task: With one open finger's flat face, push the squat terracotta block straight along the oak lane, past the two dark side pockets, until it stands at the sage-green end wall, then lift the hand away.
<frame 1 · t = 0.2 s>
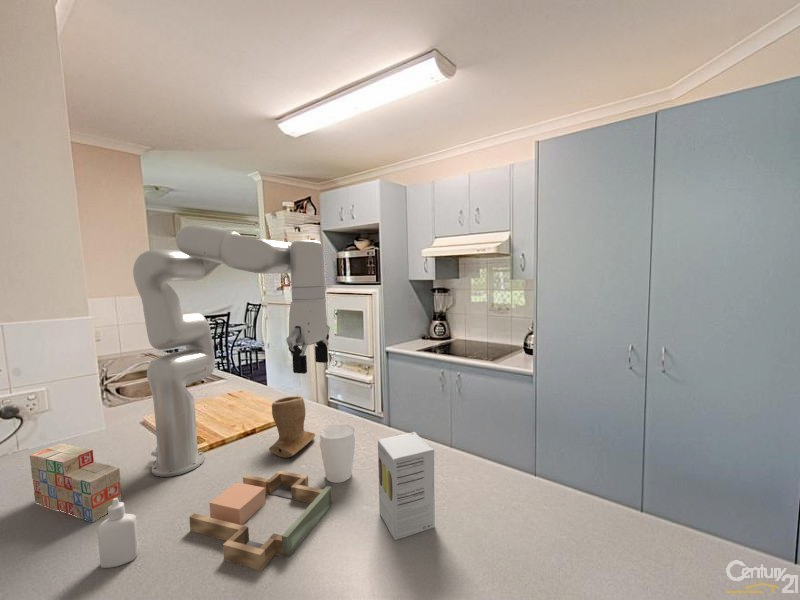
hand: (311, 367, 85), 31 cm above the countertop, tool pointing down, fingers open, 9 cm apart
block: (238, 511, 81), on the countertop
stone cup: (290, 447, 111), on the countertop
eye dropper bottle: (120, 561, 68), on the countertop
supplement box: (406, 520, 77), on the countertop
cup: (338, 476, 94), on the countertop
stack of blocks: (78, 506, 85), on the countertop
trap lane: (264, 516, 79), on the countertop
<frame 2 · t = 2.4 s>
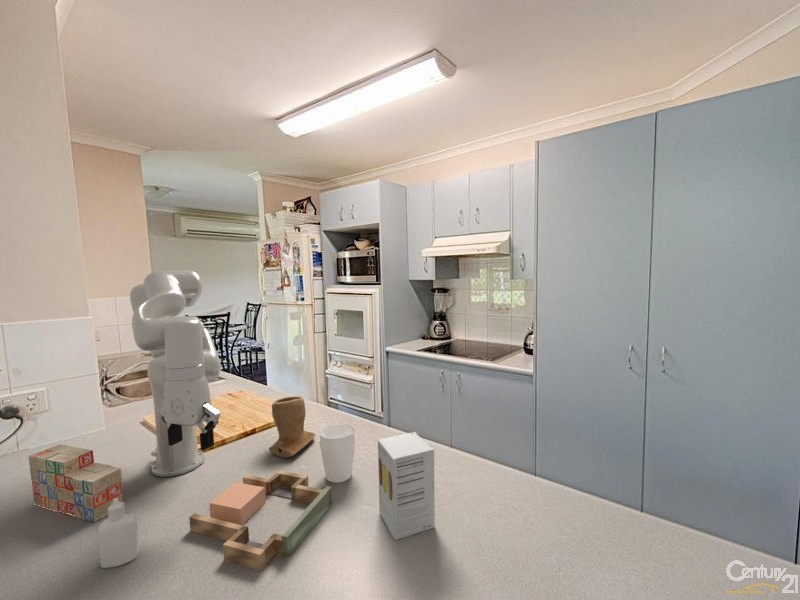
hand: (191, 445, 84), 14 cm above the countertop, tool pointing down, fingers open, 9 cm apart
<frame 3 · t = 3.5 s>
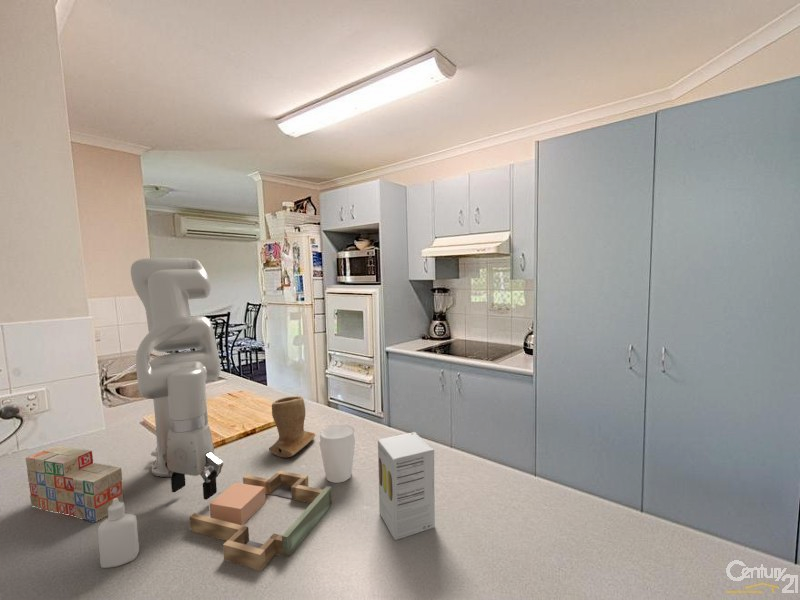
hand: (194, 492, 85), 2 cm above the countertop, tool pointing down, fingers open, 9 cm apart
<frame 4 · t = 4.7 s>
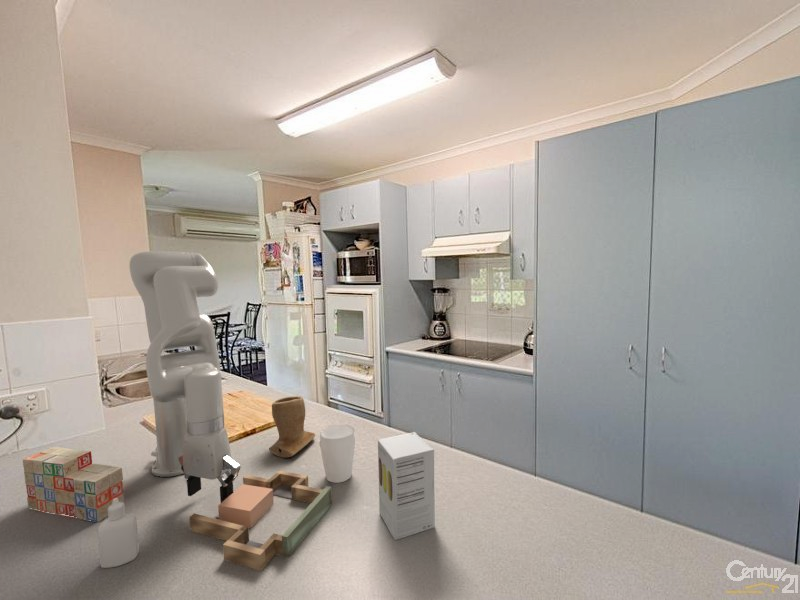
hand: (210, 496, 83), 2 cm above the countertop, tool pointing down, fingers open, 9 cm apart
block: (247, 514, 80), on the countertop, touching gripper
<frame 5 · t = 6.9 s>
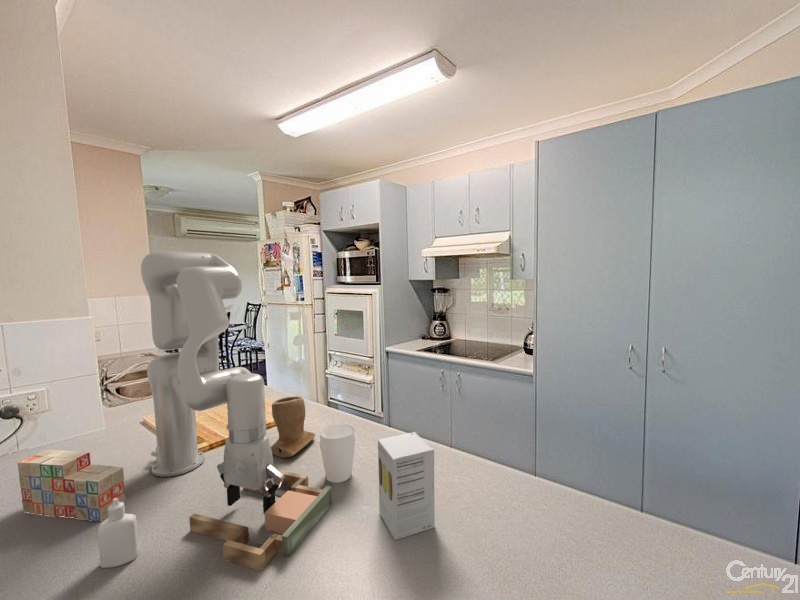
hand: (251, 506, 80), 2 cm above the countertop, tool pointing down, fingers open, 9 cm apart
block: (293, 522, 77), on the countertop, touching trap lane
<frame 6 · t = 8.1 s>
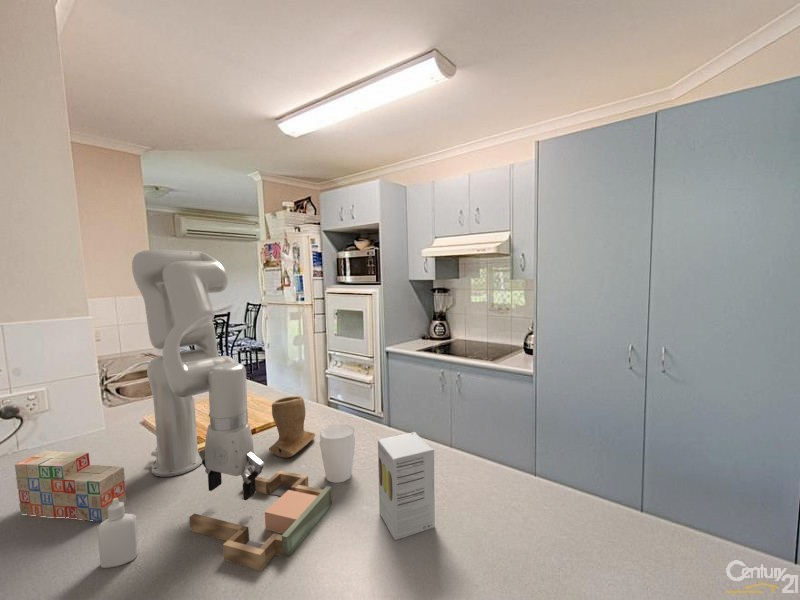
hand: (232, 491, 82), 4 cm above the countertop, tool pointing down, fingers open, 9 cm apart
block: (293, 521, 78), on the countertop
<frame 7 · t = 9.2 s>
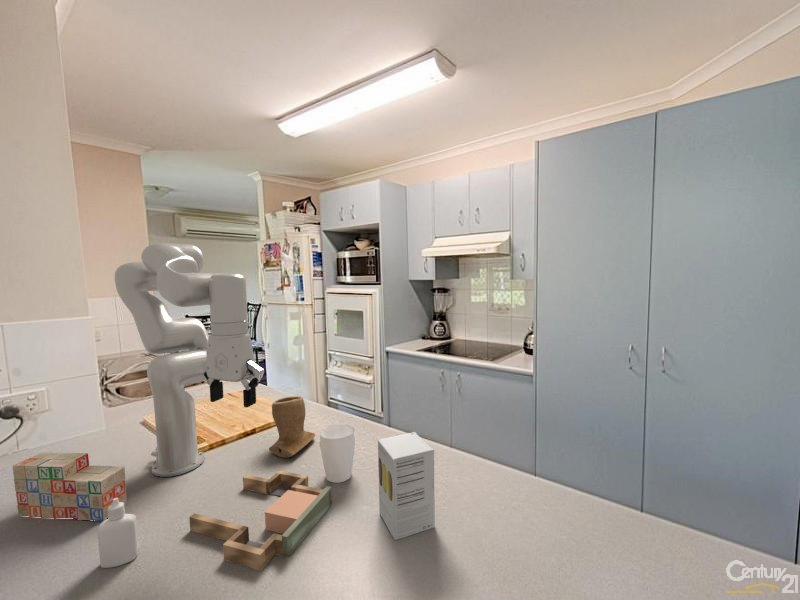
hand: (233, 402, 83), 24 cm above the countertop, tool pointing down, fingers open, 9 cm apart
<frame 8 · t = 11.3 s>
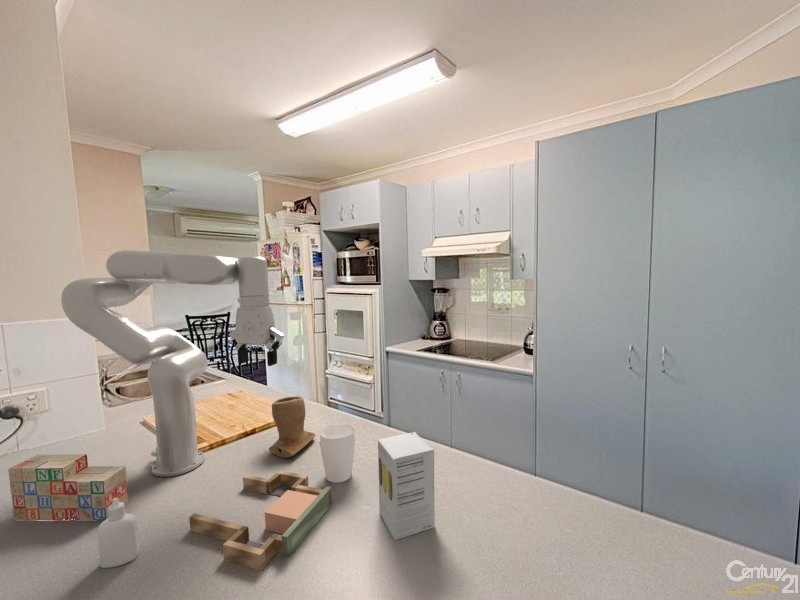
hand: (257, 363, 100), 28 cm above the countertop, tool pointing down, fingers open, 9 cm apart
at the end: block inside the target area (0.9 cm from its centre), on the countertop; block moved 13.8 cm from its start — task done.
